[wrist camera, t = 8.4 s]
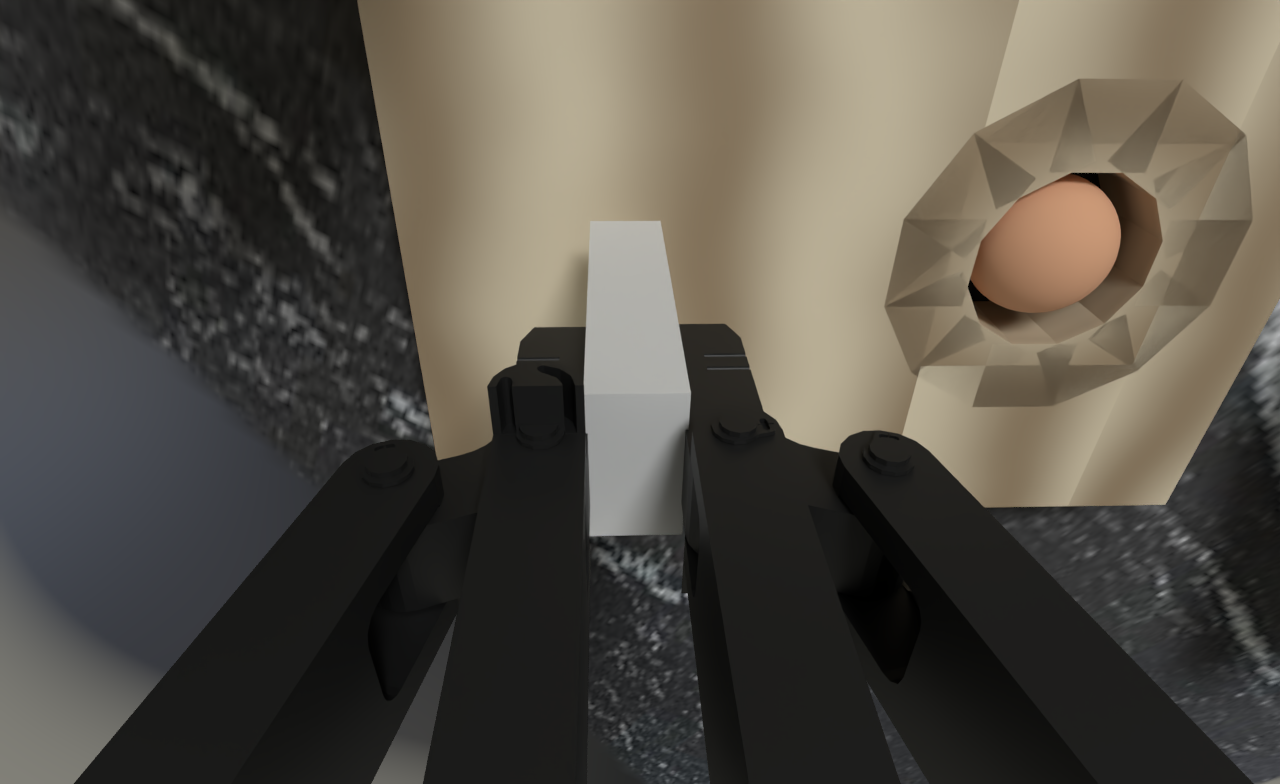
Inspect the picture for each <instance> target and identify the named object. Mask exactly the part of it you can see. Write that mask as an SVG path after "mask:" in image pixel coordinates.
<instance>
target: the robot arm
mask: <svg viewBox="0 0 1280 784" xmlns="http://www.w3.org/2000/svg"><path fill="white" fill-rule="evenodd" d="M487 390H488V398H489V406H490V414H491V422H492V430H493V438H492V441H491V442H489V443H488V444H487V445H485V446H483V447H481V448H479V449H477V450H475V451H472V452H469V453H465V454H462V455H459V456H454V457H450V458H446V459H441V460H438V459H437V456H436V453H435V452H434V451H433V450H432V449H430V448H429V447H428V446H427V445H425V444H422V443H419V442H415V441H412V440H389V441H385V442H380V443H376V444H372V445H370V446H368V447H366V448H364V449H361V450H359V451H357V452H355V453H354V454H353V455H352V456H351V457H350V458H348V459H347V460H346V461H345V462H344V463H343V464H342V465H341V466H340V467H339V468H338V470H337V471H336V472H335V473H334V474H333V476H332V477H331V478H330V479H329V480H328V482H327V483H326V484H325V485H324V486H323V487H322V489H321V490H320V491H319V492H318V493H317V495H316V496H315V497H314V498H313V499H312V501H311V502H310V503H309V504H308V505H307V507H306V508H305V509H304V510H303V511H302V512H301V514H300V515H299V516H298V517H297V518H296V520H295V521H294V522H293V523H292V524H291V526H290V527H289V528H288V529H287V530H286V532H285V533H284V534H283V535H282V537H281V538H280V539H279V540H278V541H277V542H276V544H275V545H274V546H273V547H272V548H271V550H270V551H269V552H268V553H267V554H266V555H265V557H264V558H263V559H262V560H261V561H260V562H259V564H258V565H257V566H256V567H255V569H254V570H253V571H252V572H251V573H250V575H249V576H248V577H247V578H246V579H245V580H244V582H243V583H242V584H241V585H240V586H239V587H238V589H237V590H236V591H235V592H234V594H233V595H232V596H231V597H230V598H229V599H228V601H227V602H226V603H225V604H224V605H223V607H222V608H221V609H220V610H219V611H218V613H217V614H216V615H215V616H214V617H213V618H212V620H211V621H210V622H209V623H208V624H207V626H206V627H205V628H204V629H203V630H202V632H201V633H200V634H199V635H198V636H197V638H196V639H195V640H194V641H193V642H192V643H191V645H190V646H189V647H188V648H187V650H186V651H185V652H184V653H183V654H182V655H181V657H180V658H179V659H178V660H177V661H176V663H175V664H174V665H173V666H172V667H171V668H170V670H169V671H168V672H167V673H166V674H165V676H164V677H163V678H162V679H161V680H160V682H159V683H158V684H157V685H156V687H155V688H154V689H153V690H152V691H151V692H150V694H149V695H148V696H147V697H146V698H145V699H144V701H143V702H142V703H141V704H140V706H139V707H138V708H137V709H136V710H135V712H134V713H133V714H132V715H131V716H130V717H129V718H128V720H127V721H126V722H125V723H124V724H123V726H122V727H121V728H120V729H119V730H118V732H117V733H116V734H115V735H114V736H113V738H112V739H111V740H110V741H109V742H108V744H107V745H106V746H105V747H104V748H103V749H102V751H101V752H100V753H99V754H98V755H97V757H96V758H95V759H94V760H93V761H92V763H91V764H90V765H89V766H88V767H87V769H86V770H85V771H84V772H83V773H82V774H81V776H80V777H79V778H78V779H77V780H76V782H75V783H74V784H371V783H372V781H373V779H374V777H375V775H376V773H377V771H378V769H379V767H380V765H381V763H382V761H383V759H384V757H385V755H386V753H387V751H388V749H389V747H390V745H391V743H392V741H393V739H394V737H395V735H396V733H397V731H398V729H399V727H400V725H401V723H402V721H403V719H404V717H405V715H406V713H407V711H408V709H409V707H410V705H411V703H412V701H413V699H414V697H415V695H416V693H417V691H418V689H419V687H420V685H421V683H422V681H423V679H424V677H425V675H426V673H427V671H428V669H429V667H430V665H431V663H432V662H433V660H434V658H435V656H436V654H437V651H438V649H439V647H440V646H441V644H442V642H443V640H444V638H445V636H446V634H447V632H448V630H449V628H450V626H451V624H452V622H453V620H454V618H455V616H456V614H457V617H456V622H455V627H454V632H453V637H452V642H451V647H450V652H449V657H448V662H447V667H446V672H445V676H444V682H443V686H442V692H441V697H440V701H439V707H438V711H437V717H436V722H435V726H434V731H433V736H432V741H431V746H430V751H429V756H428V761H427V766H426V771H425V776H424V781H423V784H587V735H588V673H589V611H590V540H589V536H621V535H670V534H682V528H683V520H684V528H685V548H684V563H683V578H682V593H688V600H689V608H690V617H691V625H692V634H693V642H694V651H695V659H696V668H697V676H698V685H699V693H700V702H701V710H702V719H703V727H704V736H705V744H706V753H707V761H708V770H709V778H710V784H900V781H899V778H898V775H897V772H896V769H895V766H894V763H893V760H892V757H891V754H890V751H889V748H888V745H887V742H886V739H885V735H884V732H883V729H882V726H881V723H880V720H879V717H878V714H877V711H876V708H875V705H874V702H873V699H872V696H871V693H870V690H869V687H868V684H869V685H870V687H871V689H872V690H873V692H874V693H875V695H876V697H877V698H878V700H879V702H880V703H881V705H882V707H883V708H884V710H885V711H886V713H887V715H888V716H889V718H890V720H891V721H892V723H893V725H894V726H895V728H896V730H897V731H898V733H899V734H900V736H901V738H902V739H903V741H904V743H905V744H906V746H907V748H908V749H909V751H910V752H911V754H912V756H913V757H914V759H915V761H916V762H917V764H918V766H919V767H920V769H921V770H922V772H923V774H924V775H925V777H926V779H927V780H928V782H929V784H1253V783H1252V782H1251V780H1250V779H1249V778H1248V777H1247V776H1246V775H1245V774H1244V773H1243V772H1242V771H1241V770H1240V769H1239V768H1238V767H1237V766H1236V765H1235V764H1234V763H1233V762H1232V761H1231V760H1230V759H1229V758H1228V757H1227V756H1226V755H1225V754H1224V753H1223V752H1222V751H1221V750H1220V749H1219V748H1218V747H1217V746H1216V745H1215V744H1214V743H1213V742H1212V740H1211V739H1210V738H1209V737H1208V736H1207V735H1206V734H1205V733H1204V732H1203V731H1202V730H1201V729H1200V728H1199V727H1198V726H1197V725H1196V724H1195V723H1194V722H1193V721H1192V720H1191V719H1190V718H1189V717H1188V716H1187V715H1186V714H1185V713H1184V712H1183V711H1182V710H1181V709H1180V708H1179V707H1178V706H1177V705H1176V704H1175V703H1174V702H1173V700H1172V699H1171V698H1170V697H1169V696H1168V695H1167V694H1166V693H1165V692H1164V691H1163V690H1162V689H1161V688H1160V687H1159V686H1158V685H1157V684H1156V683H1155V682H1154V681H1153V680H1152V679H1151V678H1150V677H1149V676H1148V675H1147V674H1146V673H1145V672H1144V671H1143V670H1142V669H1141V668H1140V667H1139V666H1138V665H1137V664H1136V663H1135V661H1134V660H1133V659H1132V658H1131V657H1130V656H1129V655H1128V654H1127V653H1126V652H1125V651H1124V650H1123V649H1122V648H1121V647H1120V646H1119V645H1118V644H1117V643H1116V642H1115V641H1114V640H1113V639H1112V638H1111V637H1110V636H1109V635H1108V634H1107V633H1106V632H1105V631H1104V630H1103V629H1102V628H1101V627H1100V626H1099V625H1098V624H1097V623H1096V621H1095V620H1094V619H1093V618H1092V617H1091V616H1090V615H1089V614H1088V613H1087V612H1086V611H1085V610H1084V609H1083V608H1082V607H1081V606H1080V605H1079V604H1078V603H1077V602H1076V601H1075V600H1074V599H1073V598H1072V597H1071V596H1070V595H1069V594H1068V593H1067V592H1066V591H1065V590H1064V589H1063V588H1062V587H1061V586H1060V585H1059V584H1058V583H1057V581H1056V580H1055V579H1054V578H1053V577H1052V576H1051V575H1050V574H1049V573H1048V572H1047V571H1046V570H1045V569H1044V568H1043V567H1042V566H1041V565H1040V564H1039V563H1038V562H1037V561H1036V560H1035V559H1034V558H1033V557H1032V556H1031V555H1030V554H1029V553H1028V552H1027V551H1026V550H1025V549H1024V548H1023V547H1022V546H1021V545H1020V544H1019V542H1018V541H1017V540H1016V539H1015V538H1014V537H1013V536H1012V535H1011V534H1010V533H1009V532H1008V531H1007V530H1006V529H1005V528H1004V527H1003V526H1002V525H1001V524H1000V523H999V522H998V521H997V520H996V519H995V518H994V517H993V516H992V515H991V514H990V513H989V512H988V511H987V510H986V509H985V508H984V507H983V506H982V505H981V504H980V502H979V501H978V500H977V499H976V498H975V497H974V496H973V495H972V494H971V493H970V492H969V491H968V490H967V489H966V488H965V487H964V486H963V485H962V484H961V483H960V482H959V481H958V480H957V479H956V478H955V477H954V476H953V475H952V474H951V473H950V472H949V471H948V470H947V469H946V468H945V467H944V466H943V465H942V464H941V462H940V461H939V460H938V459H937V458H936V457H935V456H934V455H933V454H932V453H931V452H930V451H929V450H927V449H926V448H925V447H923V446H922V445H921V444H919V443H918V442H917V441H915V440H913V439H910V438H908V437H905V436H903V435H901V434H898V433H892V432H887V431H882V430H873V431H861V432H858V433H855V434H852V435H850V436H848V437H847V438H846V439H845V440H844V441H843V442H842V443H841V445H840V449H839V452H834V451H829V450H824V449H819V448H814V447H810V446H806V445H802V444H799V443H796V442H794V441H792V440H790V439H787V438H786V437H785V435H784V432H783V429H782V428H781V426H780V425H779V423H778V422H777V420H776V419H774V418H773V417H771V416H770V415H768V414H767V413H765V412H764V411H763V407H762V404H761V401H760V398H759V395H758V391H757V388H756V385H755V382H754V379H753V375H752V372H751V369H750V366H749V363H748V359H747V356H746V353H745V350H744V347H743V343H742V340H741V337H740V336H738V335H737V334H736V333H735V332H734V331H733V330H732V329H731V328H729V327H728V326H727V325H726V324H679V323H678V317H677V311H676V306H675V300H674V294H673V289H672V283H671V277H670V272H669V266H668V260H667V255H666V249H665V243H664V238H663V232H662V227H661V221H590V240H589V265H588V289H587V314H586V327H534V328H533V329H532V330H531V331H530V332H529V333H528V334H527V335H526V336H525V337H524V338H523V339H522V340H521V341H520V345H519V351H518V356H517V361H516V365H513V366H510V367H507V368H505V369H503V370H502V371H500V372H499V373H498V374H496V375H495V376H493V378H492V379H491V381H490V383H489V384H488V386H487ZM866 680H867V681H866ZM867 682H868V684H867Z"/></svg>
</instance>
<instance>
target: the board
mask: <svg viewBox="0 0 1280 784" xmlns="http://www.w3.org/2000/svg"><path fill="white" fill-rule="evenodd" d="M357 3H358V8H359V14H360V20H361V26H362V31H363V37H364V43H365V49H366V54H367V60H368V66H369V72H370V77H371V83H372V89H373V95H374V100H375V106H376V112H377V118H378V123H379V129H380V135H381V141H382V146H383V152H384V158H385V164H386V169H387V175H388V181H389V187H390V192H391V198H392V204H393V210H394V215H395V221H396V227H397V233H398V238H399V244H400V250H401V256H402V261H403V267H404V273H405V279H406V284H407V290H408V296H409V302H410V307H411V313H412V319H413V325H414V330H415V336H416V342H417V348H418V353H419V359H420V365H421V371H422V376H423V382H424V388H425V394H426V399H427V405H428V411H429V417H430V422H431V428H432V434H433V440H434V445H435V451H436V456H437V459H438V460H441V459H446V458H450V457H454V456H459V455H462V454H465V453H469V452H472V451H475V450H477V449H479V448H481V447H483V446H485V445H487V444H488V443H489V442H491V441H492V438H493V430H492V422H491V414H490V406H489V398H488V390H487V386H488V384H489V383H490V381H491V379H492V378H493V376H495V375H496V374H498V373H499V372H500V371H502V370H503V369H505V368H507V367H510V366H513V365H516V361H517V356H518V351H519V345H520V341H521V340H522V339H523V338H524V337H525V336H526V335H527V334H528V333H529V332H530V331H531V330H532V329H533V328H534V327H586V314H587V289H588V265H589V240H590V221H661V227H662V232H663V238H664V243H665V249H666V255H667V260H668V266H669V272H670V277H671V283H672V289H673V294H674V300H675V306H676V311H677V317H678V323H679V324H726V325H727V326H728V327H729V328H731V329H732V330H733V331H734V332H735V333H736V334H737V335H738V336H740V337H741V340H742V343H743V347H744V350H745V353H746V356H747V359H748V363H749V366H750V369H751V372H752V375H753V379H754V382H755V385H756V388H757V391H758V395H759V398H760V401H761V404H762V407H763V411H764V412H765V413H767V414H768V415H770V416H771V417H773V418H774V419H776V420H777V422H778V423H779V425H780V426H781V428H782V429H783V432H784V435H785V437H786V438H787V439H790V440H792V441H794V442H796V443H799V444H802V445H806V446H810V447H814V448H819V449H824V450H829V451H834V452H839V449H840V445H841V443H842V442H843V441H844V440H845V439H846V438H847V437H848V436H850V435H852V434H855V433H858V432H861V431H873V430H882V431H887V432H892V433H898V434H901V435H903V436H905V437H908V438H910V439H913V440H915V441H917V442H918V443H919V444H921V445H922V446H923V447H925V448H926V449H927V450H929V451H930V452H931V453H932V454H933V455H934V456H935V457H936V458H937V459H938V460H939V461H940V462H941V464H942V465H943V466H944V467H945V468H946V469H947V470H948V471H949V472H950V473H951V474H952V475H953V476H954V477H955V478H956V479H957V480H958V481H959V482H960V483H961V484H962V485H963V486H964V487H965V488H966V489H967V490H968V491H969V492H970V493H971V494H972V495H973V496H974V497H975V498H976V499H977V500H978V501H979V502H980V504H981V505H982V506H983V507H1047V506H1111V505H1165V504H1166V503H1167V501H1168V499H1169V497H1170V495H1171V494H1172V492H1173V490H1174V488H1175V486H1176V485H1177V483H1178V481H1179V479H1180V477H1181V476H1182V474H1183V472H1184V470H1185V468H1186V467H1187V465H1188V463H1189V461H1190V459H1191V458H1192V456H1193V454H1194V452H1195V450H1196V449H1197V447H1198V445H1199V443H1200V441H1201V439H1202V438H1203V436H1204V434H1205V432H1206V430H1207V429H1208V427H1209V425H1210V423H1211V421H1212V420H1213V418H1214V416H1215V414H1216V412H1217V411H1218V409H1219V407H1220V405H1221V403H1222V402H1223V400H1224V398H1225V396H1226V394H1227V393H1228V391H1229V389H1230V387H1231V385H1232V384H1233V382H1234V380H1235V378H1236V376H1237V375H1238V373H1239V371H1240V369H1241V367H1242V366H1243V364H1244V362H1245V360H1246V358H1247V356H1248V355H1249V353H1250V351H1251V349H1252V347H1253V346H1254V344H1255V342H1256V340H1257V338H1258V337H1259V335H1260V333H1261V331H1262V329H1263V328H1264V326H1265V324H1266V322H1267V320H1268V319H1269V317H1270V315H1271V313H1272V311H1273V310H1274V308H1275V306H1276V304H1277V302H1278V301H1279V299H1280V0H357ZM1070 173H1098V178H1099V183H1100V188H1101V190H1102V191H1103V192H1104V193H1105V195H1106V196H1107V197H1108V198H1109V200H1110V201H1111V202H1112V204H1113V206H1114V208H1115V210H1116V213H1117V215H1118V219H1119V223H1120V228H1121V240H1120V247H1119V251H1118V255H1117V258H1116V261H1115V263H1114V265H1113V267H1112V269H1111V271H1110V272H1109V274H1108V275H1107V277H1106V278H1105V279H1104V280H1103V282H1102V283H1101V284H1100V285H1099V286H1098V287H1097V288H1096V289H1095V290H1093V291H1092V292H1091V293H1090V294H1089V295H1087V296H1086V297H1084V298H1083V299H1081V300H1080V301H1078V302H1076V303H1074V304H1072V305H1069V306H1067V307H1064V308H1061V309H1058V310H1054V311H1049V312H1041V313H1026V312H1019V311H1014V310H1010V309H1007V308H1004V307H1002V306H1000V305H997V304H996V303H994V302H992V301H972V299H971V296H970V293H969V290H968V284H969V281H970V277H971V274H972V270H973V267H974V263H975V260H976V257H977V253H978V250H979V246H980V243H981V240H982V239H983V238H984V237H985V236H986V235H987V234H988V233H989V231H990V230H991V229H992V228H993V227H994V226H995V225H996V224H997V222H998V221H999V220H1000V219H1001V218H1002V217H1003V216H1004V215H1005V213H1006V212H1007V211H1008V210H1009V209H1010V208H1011V207H1012V206H1013V204H1014V203H1015V202H1016V201H1017V200H1018V199H1019V198H1021V197H1023V196H1025V195H1027V194H1029V193H1031V192H1033V191H1035V190H1037V189H1039V188H1041V187H1043V186H1045V185H1047V184H1049V183H1051V182H1053V181H1056V180H1058V179H1060V178H1062V177H1064V176H1066V175H1068V174H1070Z"/></svg>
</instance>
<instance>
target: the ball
mask: <svg viewBox="0 0 1280 784" xmlns="http://www.w3.org/2000/svg"><path fill="white" fill-rule="evenodd" d="M1120 240H1121V228H1120V223H1119V219H1118V215H1117V213H1116V210H1115V208H1114V206H1113V204H1112V202H1111V201H1110V200H1109V198H1108V197H1107V196H1106V195H1105V193H1104V192H1103V191H1102V190H1101V189H1099V188H1098V187H1097V186H1096V185H1094V184H1093V183H1091V182H1090V181H1088V180H1087V179H1084V178H1082V177H1080V176H1077V175H1074V174H1071V173H1070V174H1068V175H1066V176H1064V177H1062V178H1060V179H1058V180H1056V181H1053V182H1051V183H1049V184H1047V185H1045V186H1043V187H1041V188H1039V189H1037V190H1035V191H1033V192H1031V193H1029V194H1027V195H1025V196H1023V197H1021V198H1019V199H1018V200H1017V201H1016V202H1015V203H1014V204H1013V206H1012V207H1011V208H1010V209H1009V210H1008V211H1007V212H1006V213H1005V215H1004V216H1003V217H1002V218H1001V219H1000V220H999V221H998V222H997V224H996V225H995V226H994V227H993V228H992V229H991V230H990V231H989V233H988V234H987V235H986V236H985V237H984V238H983V239H982V240H981V243H980V246H979V250H978V253H977V257H976V260H975V263H974V267H973V270H972V274H971V277H970V280H971V281H972V283H973V284H974V286H975V287H976V288H977V289H978V290H979V291H980V293H982V294H983V295H984V296H985V297H987V298H988V299H989V300H990V301H992V302H994V303H996V304H997V305H1000V306H1002V307H1004V308H1007V309H1010V310H1014V311H1019V312H1026V313H1041V312H1049V311H1054V310H1058V309H1061V308H1064V307H1067V306H1069V305H1072V304H1074V303H1076V302H1078V301H1080V300H1081V299H1083V298H1084V297H1086V296H1087V295H1089V294H1090V293H1091V292H1092V291H1093V290H1095V289H1096V288H1097V287H1098V286H1099V285H1100V284H1101V283H1102V282H1103V280H1104V279H1105V278H1106V277H1107V275H1108V274H1109V272H1110V271H1111V269H1112V267H1113V265H1114V263H1115V261H1116V258H1117V255H1118V251H1119V247H1120Z"/></svg>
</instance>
